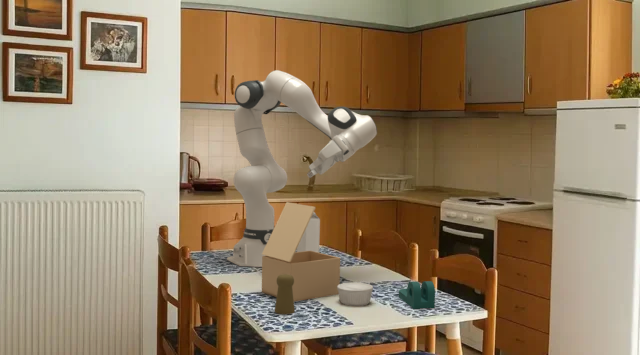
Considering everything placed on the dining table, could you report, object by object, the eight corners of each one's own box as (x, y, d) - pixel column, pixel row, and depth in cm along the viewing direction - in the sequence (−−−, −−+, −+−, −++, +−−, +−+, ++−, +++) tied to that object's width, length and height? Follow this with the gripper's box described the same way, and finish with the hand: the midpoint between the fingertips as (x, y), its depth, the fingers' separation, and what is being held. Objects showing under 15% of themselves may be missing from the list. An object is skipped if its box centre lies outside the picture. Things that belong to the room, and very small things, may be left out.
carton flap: (262, 254, 234) (261, 254, 233) (287, 202, 238) (286, 202, 238) (290, 262, 222) (289, 261, 222) (315, 207, 227) (314, 206, 226)
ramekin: (334, 305, 220) (335, 289, 219) (338, 297, 231) (339, 281, 230) (371, 308, 218) (371, 291, 218) (373, 299, 229) (374, 283, 229)
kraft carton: (261, 292, 235) (262, 256, 234) (309, 284, 247) (310, 250, 246) (290, 302, 222) (291, 264, 222) (339, 293, 235) (340, 257, 234)
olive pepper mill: (299, 311, 211) (299, 275, 210) (283, 315, 207) (284, 277, 206) (285, 307, 215) (286, 271, 215) (270, 311, 211) (270, 274, 210)
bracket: (434, 309, 219) (435, 283, 219) (413, 309, 218) (414, 284, 217) (415, 295, 237) (416, 271, 236) (396, 295, 235) (396, 272, 235)
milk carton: (305, 254, 305) (306, 210, 304) (296, 251, 311) (297, 208, 310) (319, 253, 309) (320, 209, 308) (310, 250, 315) (311, 207, 314)
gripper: (331, 151, 263) (301, 173, 260) (336, 133, 244) (305, 157, 240) (341, 164, 262) (312, 186, 259) (348, 147, 243) (316, 171, 239)
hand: (309, 172), depth 250 cm, fingers open, 8 cm apart
